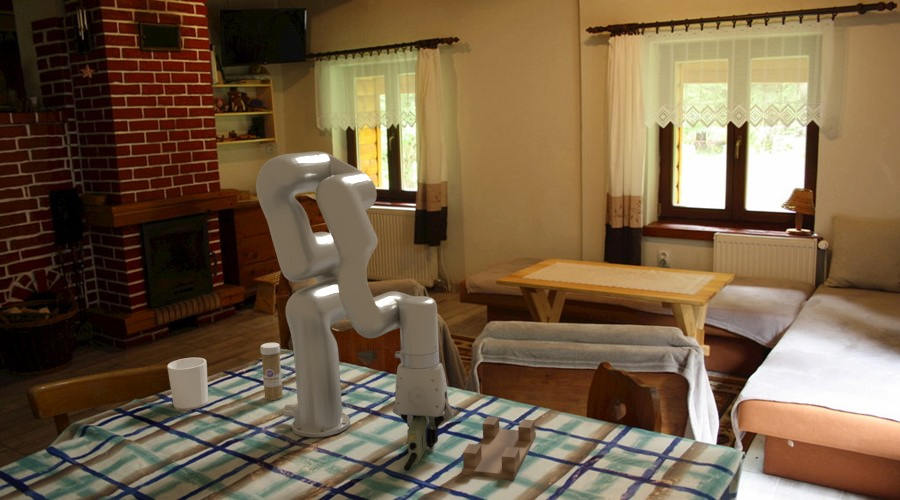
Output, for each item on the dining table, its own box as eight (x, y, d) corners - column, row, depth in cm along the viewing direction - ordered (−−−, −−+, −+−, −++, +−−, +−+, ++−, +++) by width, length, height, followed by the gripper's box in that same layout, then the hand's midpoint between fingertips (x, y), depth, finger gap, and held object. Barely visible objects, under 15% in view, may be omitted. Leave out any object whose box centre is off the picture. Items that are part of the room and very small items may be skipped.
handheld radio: (442, 423, 172) (416, 475, 148) (427, 422, 172) (399, 474, 148) (440, 394, 171) (414, 441, 146) (426, 394, 171) (397, 441, 147)
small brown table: (462, 474, 147) (461, 454, 146) (489, 432, 166) (488, 414, 165) (513, 480, 144) (513, 459, 143) (535, 436, 163) (535, 418, 162)
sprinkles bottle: (264, 401, 189) (260, 348, 187) (264, 395, 193) (260, 343, 191) (283, 399, 190) (279, 346, 188) (283, 393, 194) (279, 341, 192)
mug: (218, 401, 191) (214, 360, 189) (188, 413, 183) (184, 371, 182) (188, 393, 197) (184, 354, 195) (158, 405, 189) (153, 364, 187)
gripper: (375, 361, 156) (380, 448, 159) (453, 367, 151) (456, 456, 154) (389, 350, 163) (394, 433, 166) (464, 355, 158) (467, 440, 161)
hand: (424, 443), depth 160 cm, fingers closed on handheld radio, 2 cm apart
